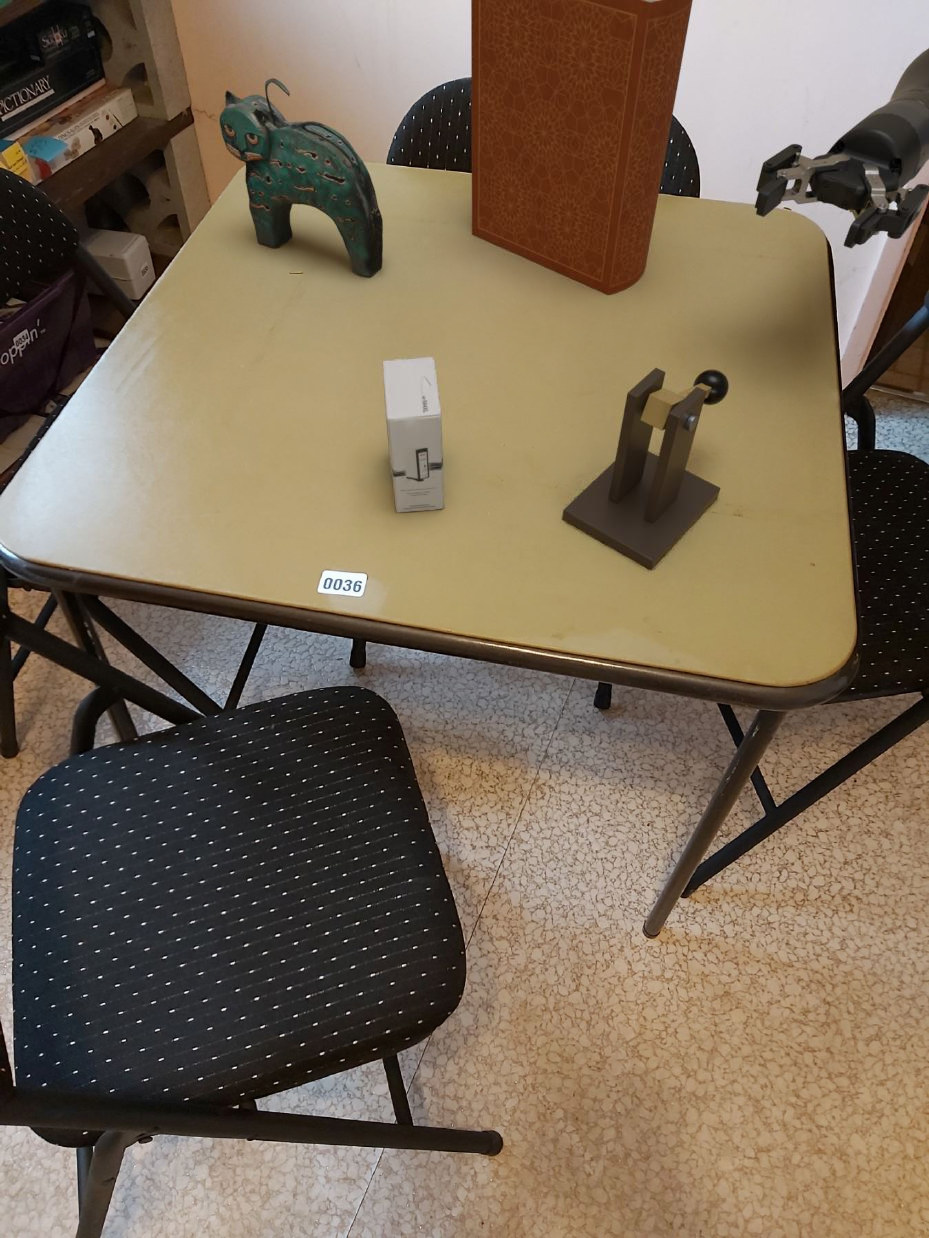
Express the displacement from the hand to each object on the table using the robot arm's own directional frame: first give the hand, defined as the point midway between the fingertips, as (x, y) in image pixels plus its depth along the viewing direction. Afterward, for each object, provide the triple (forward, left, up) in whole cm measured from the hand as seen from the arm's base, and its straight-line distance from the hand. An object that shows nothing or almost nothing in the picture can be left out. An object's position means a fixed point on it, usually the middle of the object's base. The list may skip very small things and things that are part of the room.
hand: (805, 221), depth 74 cm
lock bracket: (0, +21, -20) cm, 29 cm away
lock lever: (0, +17, -11) cm, 20 cm away
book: (+33, -11, -20) cm, 40 cm away
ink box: (+19, +32, -20) cm, 42 cm away
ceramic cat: (+57, +9, -20) cm, 61 cm away
